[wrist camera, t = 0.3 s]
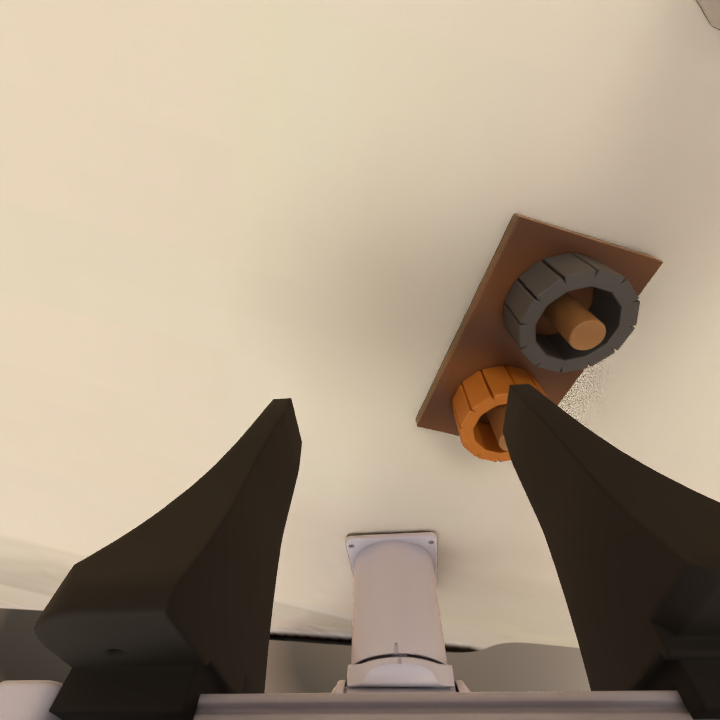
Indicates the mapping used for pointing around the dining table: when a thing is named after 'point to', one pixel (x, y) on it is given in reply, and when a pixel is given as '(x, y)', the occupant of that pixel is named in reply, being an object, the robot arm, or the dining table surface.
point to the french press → (711, 11)
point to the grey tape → (551, 282)
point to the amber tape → (485, 407)
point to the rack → (564, 315)
